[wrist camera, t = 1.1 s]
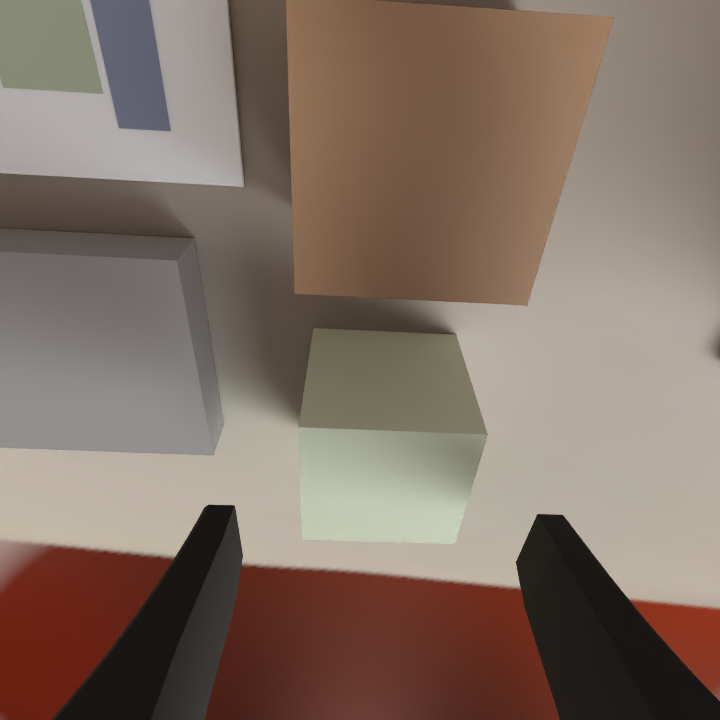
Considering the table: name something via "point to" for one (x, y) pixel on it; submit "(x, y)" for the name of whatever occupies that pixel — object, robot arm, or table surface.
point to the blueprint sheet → (119, 91)
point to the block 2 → (387, 437)
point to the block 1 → (431, 144)
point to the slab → (105, 344)
